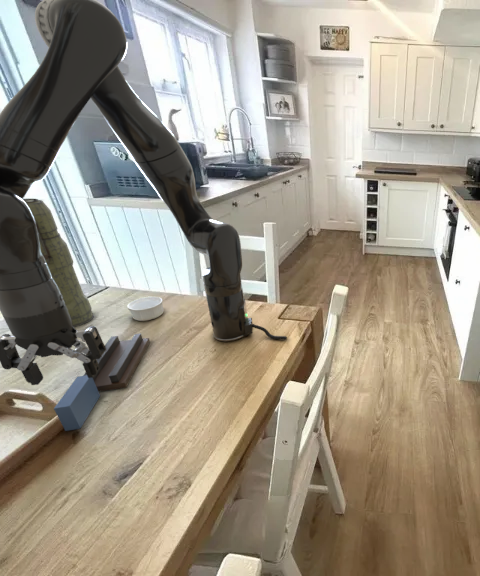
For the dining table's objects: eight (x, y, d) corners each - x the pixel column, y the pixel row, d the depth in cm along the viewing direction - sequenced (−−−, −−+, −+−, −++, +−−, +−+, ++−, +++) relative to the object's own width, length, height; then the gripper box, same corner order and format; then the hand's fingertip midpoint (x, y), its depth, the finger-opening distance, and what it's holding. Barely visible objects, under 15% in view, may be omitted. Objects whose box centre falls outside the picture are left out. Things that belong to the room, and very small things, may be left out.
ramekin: (123, 319, 98) (119, 306, 96) (148, 305, 105) (145, 294, 104) (148, 324, 96) (144, 311, 94) (172, 310, 104) (169, 298, 102)
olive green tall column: (91, 307, 102) (48, 194, 87) (97, 323, 95) (51, 203, 80) (52, 316, 97) (-1, 197, 81) (56, 334, 89) (-2, 206, 74)
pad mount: (150, 342, 89) (146, 331, 87) (126, 387, 73) (121, 375, 72) (110, 346, 86) (106, 335, 84) (77, 394, 71) (71, 382, 69)
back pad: (100, 395, 71) (91, 374, 68) (80, 428, 63) (69, 406, 61) (87, 397, 70) (77, 376, 67) (65, 431, 62) (53, 408, 60)
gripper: (-41, 320, 50) (5, 399, 57) (74, 311, 55) (103, 385, 62) (-6, 298, 57) (31, 371, 63) (94, 292, 61) (118, 361, 68)
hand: (66, 378), depth 62 cm, fingers open, 8 cm apart
